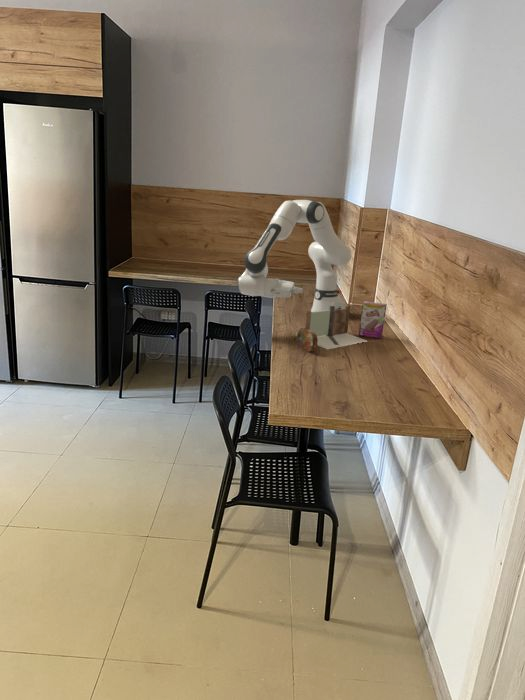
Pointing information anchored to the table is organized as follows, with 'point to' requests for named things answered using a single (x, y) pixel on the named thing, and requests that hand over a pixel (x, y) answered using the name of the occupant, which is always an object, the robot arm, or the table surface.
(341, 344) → the card
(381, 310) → the candy bar box
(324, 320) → the fence panel
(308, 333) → the tin
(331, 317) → the fence
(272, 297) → the robot arm
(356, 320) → the table surface
